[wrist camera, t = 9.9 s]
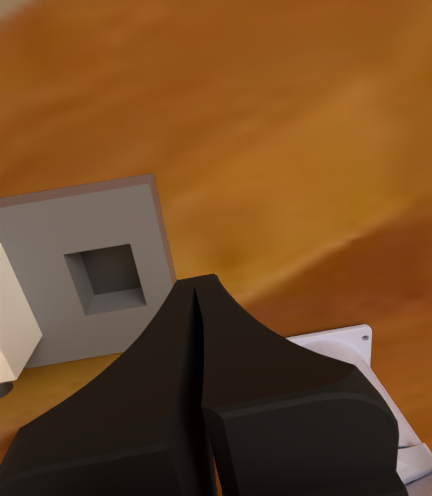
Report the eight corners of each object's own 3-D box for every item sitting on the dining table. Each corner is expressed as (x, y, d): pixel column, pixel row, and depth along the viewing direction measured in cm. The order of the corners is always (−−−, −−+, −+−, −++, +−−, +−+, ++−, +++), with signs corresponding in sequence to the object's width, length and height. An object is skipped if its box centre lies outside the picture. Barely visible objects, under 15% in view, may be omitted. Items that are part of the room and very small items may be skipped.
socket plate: (184, 317, 24) (184, 341, 21) (-20, 352, 23) (-42, 380, 21) (153, 173, 20) (149, 183, 17) (-96, 213, 19) (-133, 229, 17)
